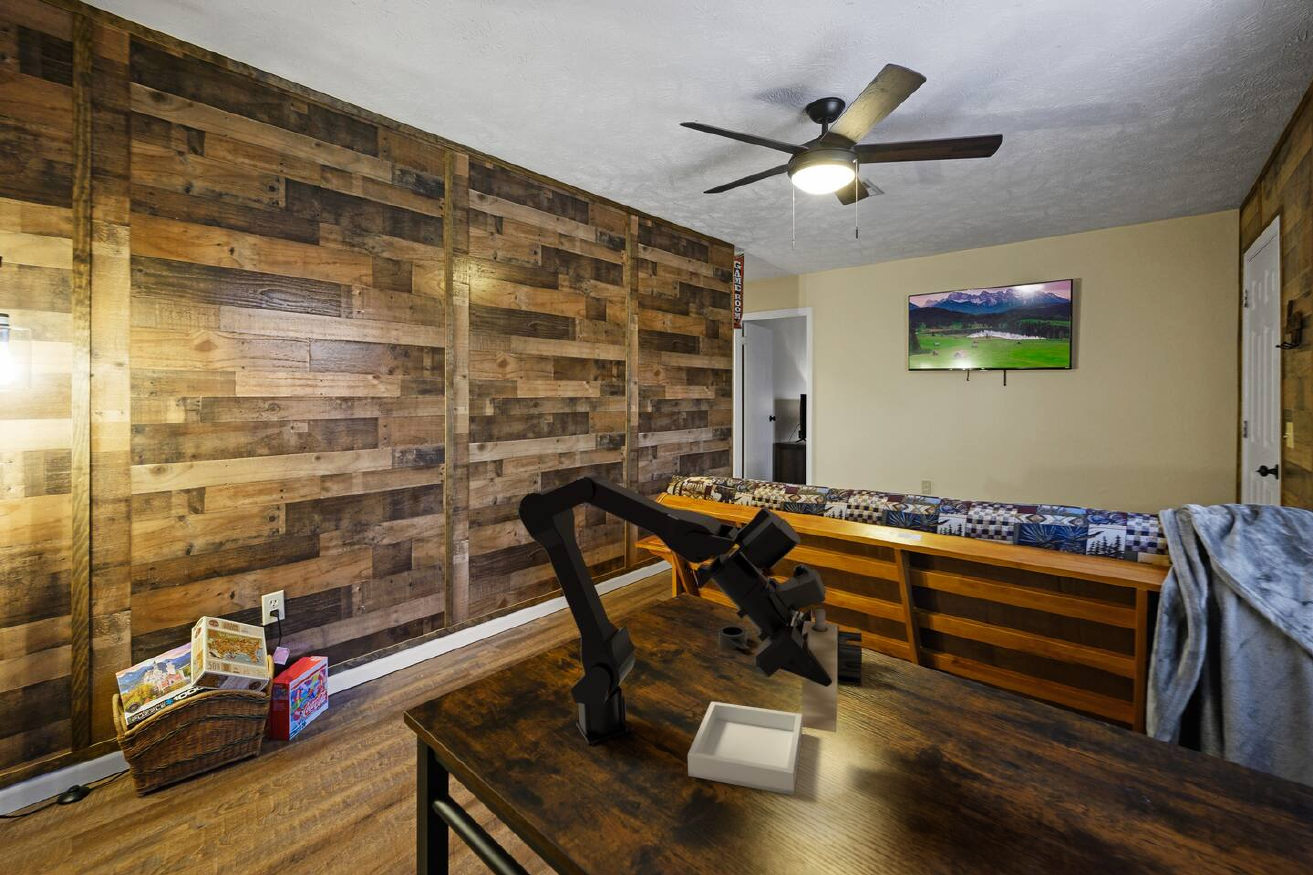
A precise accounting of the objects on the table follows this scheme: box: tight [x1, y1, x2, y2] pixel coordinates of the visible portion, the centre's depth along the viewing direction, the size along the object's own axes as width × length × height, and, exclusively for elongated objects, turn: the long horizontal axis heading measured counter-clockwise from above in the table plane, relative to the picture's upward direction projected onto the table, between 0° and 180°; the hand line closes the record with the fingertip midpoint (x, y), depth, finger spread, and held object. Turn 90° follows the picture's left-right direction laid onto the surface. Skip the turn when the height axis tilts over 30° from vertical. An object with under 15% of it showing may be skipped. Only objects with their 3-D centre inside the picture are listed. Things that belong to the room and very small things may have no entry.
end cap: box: [837, 625, 863, 687], centre depth 105 cm, size 10×7×7 cm
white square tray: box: [687, 701, 803, 796], centre depth 82 cm, size 14×14×3 cm
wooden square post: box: [801, 608, 838, 733], centre depth 78 cm, size 4×4×16 cm
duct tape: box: [716, 624, 751, 651], centre depth 118 cm, size 8×10×3 cm
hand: (830, 675), depth 78 cm, fingers closed on wooden square post, 4 cm apart
